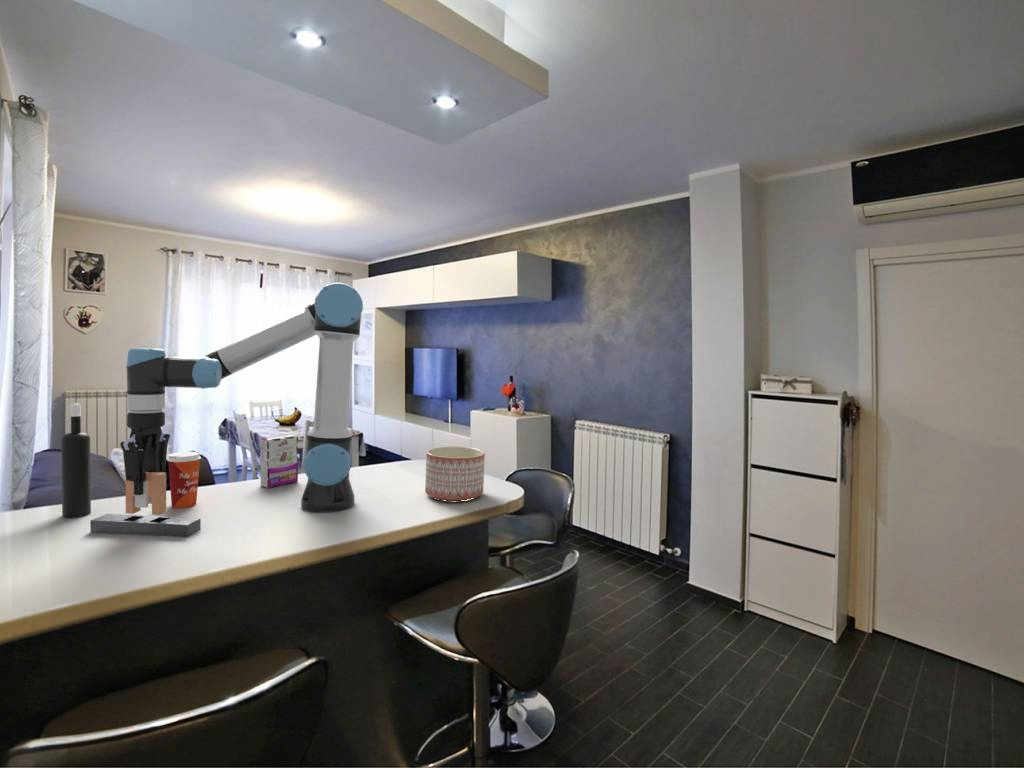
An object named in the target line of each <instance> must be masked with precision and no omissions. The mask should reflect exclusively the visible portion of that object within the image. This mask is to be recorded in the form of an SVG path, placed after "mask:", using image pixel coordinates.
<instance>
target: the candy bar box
mask: <svg viewBox="0 0 1024 768" xmlns="http://www.w3.org/2000/svg"><path fill="white" fill-rule="evenodd" d="M298 436H299V435H296V434H295V435H294V434H283V435H277V436H271V437H270V436H269V437H264V438H263V437H261V438H260V439H259V441H260V446H259V447H260V448H259V449H260V454H259V455H260V486H261V487H262V488H263V487H264V488H267V489H271V488H276V487H280V486H285V485H288V484H293V483H294V484H295V483H298V481H299V479H298V478H299V469H298V468H299V464H298V463H299V461H298V460H299V459H298V457H299V456H298V455H299V451H298V449H299V447H298V446H299V442H298V440H299V439H298V438H299V437H298Z"/></svg>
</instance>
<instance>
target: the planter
mask: <svg viewBox="0 0 1024 768" xmlns="http://www.w3.org/2000/svg"><path fill="white" fill-rule="evenodd" d="M425 453H426V455H425V459H426V460H425V461H426V462H425V486H424V488H425V489H424V491H425V494H426V495H428V496H429V497H431V496H432V497H433V498H436V499H439V500H446V501H461V500H467V499H471V498H475V497H480V496H482V495H483V493H484V480H485V478H484V477H485V457H486V456H485V455H486V454H485V451H484V450H482V449H480V448H476V447H471V446H470V447H469V446H456V445H455V446H448V445H447V446H438V447H432V448H429V449H428V450H426V451H425ZM432 497H431V498H432ZM433 498H432V499H433ZM436 499H435V500H436ZM475 499H476V498H475ZM439 500H438V501H439Z"/></svg>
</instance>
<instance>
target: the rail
mask: <svg viewBox="0 0 1024 768" xmlns="http://www.w3.org/2000/svg"><path fill="white" fill-rule="evenodd" d="M201 521H202V520H201V517H183V516H162V515H141V514H121V513H120V514H119V513H106V514H103V515H101V516H99V517H95V518H92V519H90V533H99V534H115V535H116V534H118V535H134V536H135V535H137V536H138V535H140V536H160V537H175V538H176V537H180V538H188V537H190V536H192V535H194V534H195V533H197V532H199V531H201V524H202V523H201Z"/></svg>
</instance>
